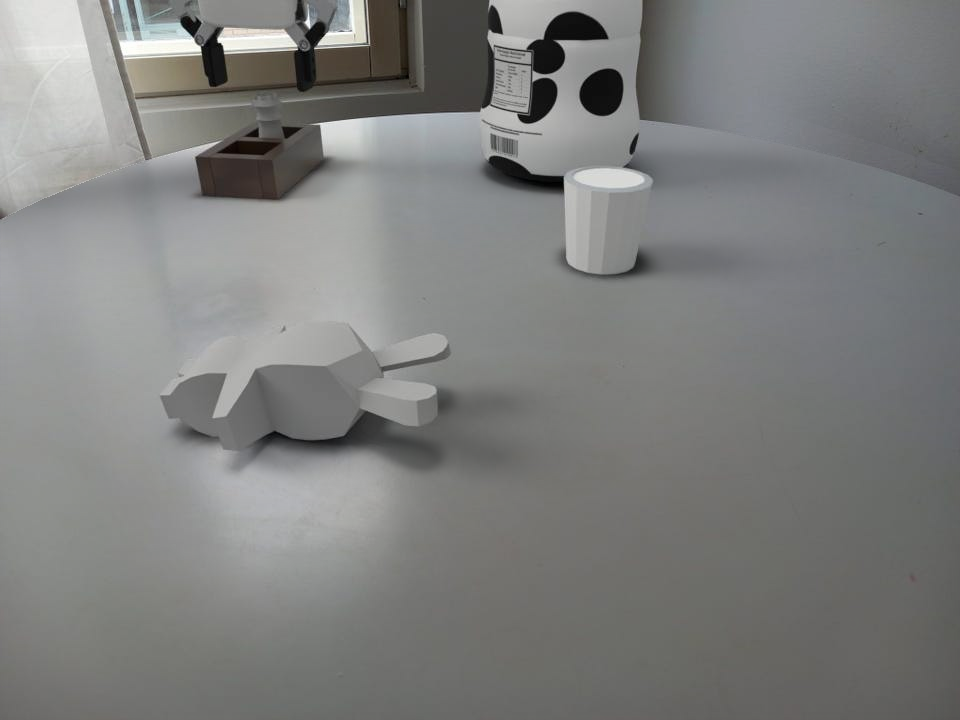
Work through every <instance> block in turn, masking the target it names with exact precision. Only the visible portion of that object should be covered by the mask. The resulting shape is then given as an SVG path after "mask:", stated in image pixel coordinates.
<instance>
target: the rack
mask: <svg viewBox="0 0 960 720" xmlns="http://www.w3.org/2000/svg"><path fill="white" fill-rule="evenodd" d="M281 126H282V130H283V134H284V137H285V139H282V138H259V125H258V121H254V122H252V123H250V124H248V125H246V126H245V127H243V128H241V129H239V130H238V131H236V132H234V133H233V134H231V135H229V136H228V137H226V138H224V139H223V140H221V141H219V142H218V143H216V144H214V145H212V146H210V147H209V148H207V149H206V150H204V151H202V152H200V153H199V154H197V155H196V156H194V159H195V164H196V169H197V170H196V171H197V174H198V175H197V176H198V179H199V185H200V190H201V196H203V197H220V198H221V197H222V198H237V199H241V198H242V199H259V200H262V199H263V200H279V199H281V197H283V196H284V195H285V194H286V193H287V192H288V191H290V190H291V189H292V188H293V187H294V186H295V185H296V184H298V183H299V182H300V181H301V180H302V179H303V178H304V177H306V176H307V175H308V174H309V173H310V172H312V170H314V169H315V168H316V167H317V166H318V165H319V164H321V163H322V162H323V161H324V160H325V156H324V148H323V139H322V137H323V136H322V130H321V129H322V128H321V127H322V126H321V124H313V123H312V124H311V123H287V122H285V123H282V122H281Z"/></svg>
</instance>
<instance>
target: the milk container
mask: <svg viewBox="0 0 960 720" xmlns="http://www.w3.org/2000/svg"><path fill="white" fill-rule="evenodd" d="M488 2H489V3H488V10H487V27H488V31H487V38H486V39H487V79H486V80H487V81H486V82H487V83H486V87H485V92H484V95H483V99H482V103H481V108H480V112H479V117H478V137H479V142H480V147H481V153H482V155H483V157H484V159H485V160H486V162H487V163H488V164H489V165H490V166H491V167H493V168H494V169H496V170H498V171H500V172H502V173H504V174H506V175H509V176H512V177H517V178H520V179H524V180H528V181H541V182H544V183H545V182H546V183H564V176H565V175H566V174H567V172H569V171H572V170H574V169H577V168H583V167H590V166H612V167H623V168H627V166H628V165H629V164H630V162H631V161H632V160H633V158H634V155H635V151H636V148H637V144H638V140H639V137H640V130H641V129H640V128H641V120H640V119H641V118H640V110H639V104H638V103H639V102H638V98H637V87H636V86H637V70H638V63H639V55H640V48H641V41H642V40H641V29H642V21H643V0H489V1H488Z"/></svg>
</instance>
